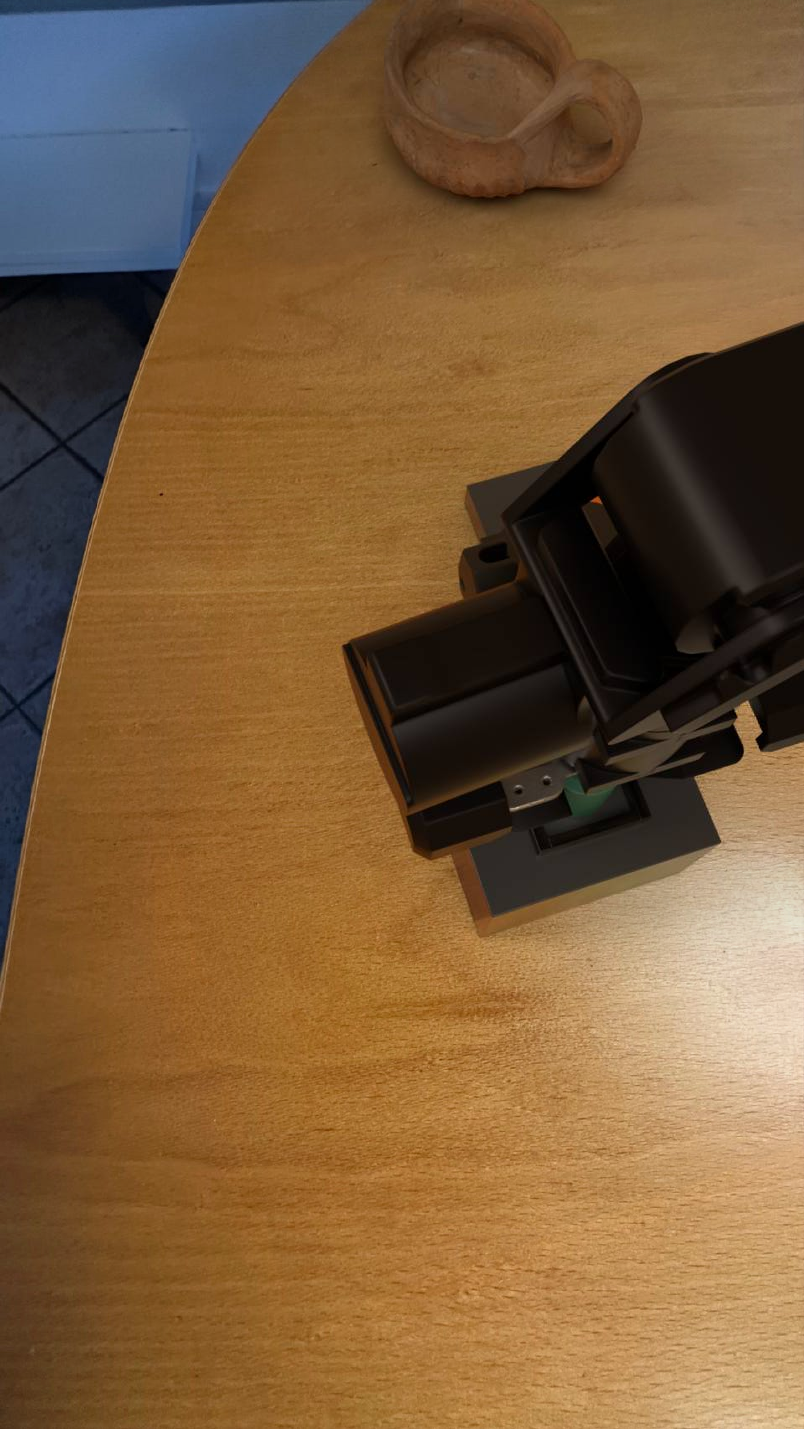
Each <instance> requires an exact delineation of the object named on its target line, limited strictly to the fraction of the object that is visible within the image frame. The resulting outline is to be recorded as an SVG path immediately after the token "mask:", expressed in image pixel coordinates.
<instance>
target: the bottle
mask: <svg viewBox="0 0 804 1429" xmlns="http://www.w3.org/2000/svg"><path fill="white" fill-rule="evenodd" d="M559 759H560V760H561V757H560V758H559ZM616 786H617V785H616ZM616 786H613V787H610V788H607V789H603V790H600V791H597V792H594V793H591V794H588V795H585V793H584V791H583V788H582V786H581V783H580V780H579V778H578V775H574V776H571V777H568V778H566V779H565V781H564V788H563V790H564V792H565V795H566V797H567V800H568V803H569V805H570V808H571V811H572V813H573V815H572V816H571V817H567V818H582V817H586V816H588V815H591V814H592V813H594V812H596V811H597V810H598V809H599V808H600V807H601V806H602V804H603V803H604V802H605V800H606V799H607V798H608V796H609V795H610V794H611V792H612V791H613V790H614V788H615V787H616Z"/></svg>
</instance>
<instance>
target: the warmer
mask: <svg viewBox="0 0 804 1429" xmlns="http://www.w3.org/2000/svg"><path fill="white" fill-rule="evenodd" d="M721 844H722V839H721V837H720V834H719V832H718V830H717V828H716V825H715V822H714V821H713V818H712V816H711V814H710V811H709V809H708V806H707V804H706V802H705V799H704V797H703V794H702V792H701V790H700V787H699V785H698V782H697V781H696V778H695V777H693V778H690V779H686V780H678V779H663V778H643V777H641V778H638V779H635V780H632V781H629V782H625V783H622V784H619V785H617V786H616V787H615V788H614V790H613V791H612V792H611V794H610V795H609V796H608V798H607V799H606V800H605V802H604V803H603V804H602V806H601V807H600V808H599V809H598V810H597V811H596V812H594V813H592V814H591V815H588V816H586V817H582V818H564V819H561V820H558V821H555V822H552V823H549V824H545V825H542V826H539V827H536V828H533V829H530V830H527V831H524V832H520V833H513V832H509V833H507V834H505V835H503V836H501V837H499V838H497V839H495V840H493V841H491V842H488V843H485V844H482V845H479V846H476V847H473V848H470V849H466V850H463V851H460V852H457V853H454V854H451V855H450V856H451V858H452V861H453V864H454V867H455V871H456V872H457V875H458V879H459V882H460V885H461V888H462V891H463V894H464V897H465V900H466V903H467V905H468V909H469V911H470V915H471V918H472V920H473V923H474V926H475V929H476V933H477V935H478V937H479V939H484V938H486V937H490V936H492V935H496V934H499V933H502V932H504V931H507V930H510V929H513V928H516V927H520V926H522V925H526V924H529V923H532V922H534V921H535V922H536V921H538V920H542V919H544V918H547V917H550V916H553V915H556V914H559V913H562V912H565V911H568V910H571V909H574V908H578V907H581V906H584V905H587V904H590V903H594V902H596V901H599V900H602V899H605V898H608V897H611V896H614V895H617V894H621V893H624V892H627V891H630V890H632V889H636V888H638V887H642V886H645V885H649V884H651V883H654V882H657V881H660V880H663V879H666V878H669V877H672V876H675V875H679V874H681V873H682V872H684V871H685V870H686V869H688V868H689V867H691V866H692V865H694V864H695V863H696V862H698V861H699V860H700V859H702V858H703V857H704V856H705V855H707V854H709V853H710V852H712V850H714V849H715V848H717V847H718V846H719V845H721Z"/></svg>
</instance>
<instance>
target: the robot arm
mask: <svg viewBox="0 0 804 1429" xmlns="http://www.w3.org/2000/svg"><path fill="white" fill-rule="evenodd" d="M556 460H557V461H556ZM556 460H555V461H556V462H555V463H554V464H553V465H552V466H551V467H550V468H549V469H547V470H546V471H545V472H544V473H543V474H542V475H541V476H540V477H539V478H538V479H537V480H536V481H535V482H534V483H533V484H532V485H531V486H530V487H529V488H528V489H526V490H525V491H524V492H523V493H522V494H521V495H520V496H519V497H518V498H517V499H516V500H515V501H514V502H513V503H512V504H511V505H510V506H509V507H508V508H506V509H505V510H504V511H503V512H502V514H501V516H500V518H501V520H502V522H503V524H504V528H503V529H502V530H501V532H500V533H497V534H493V535H490V536H487V537H483V538H481V539H480V543H479V544H476V545H471V546H468V547H466V548H463V549H462V550H461V554H460V558H459V562H458V566H457V567H458V568H457V571H458V582H459V588H460V592H461V596H462V599H460V600H457V601H454V602H452V603H449V604H446V605H443V606H439V607H437V608H435V609H432V610H429V611H426V612H424V613H421V614H418V615H415V616H413V617H410V618H408V619H404V620H401V621H398V622H396V623H393V624H390V625H387V626H384V627H382V628H379V629H376V630H373V631H370V632H367V633H365V634H362V635H359V636H356V637H353V638H350V639H349V640H348V641H347V642H346V643H344V644H341V652H342V656H343V661H344V665H345V668H346V673H347V676H348V679H349V680H348V681H349V683H350V686H351V687H350V688H351V690H352V693H353V696H354V699H355V702H356V705H357V709H358V712H359V714H360V717H361V721H362V723H363V725H364V728H365V731H366V733H367V736H368V739H369V742H370V745H371V748H372V750H373V752H374V755H375V757H376V759H377V762H378V764H379V767H380V770H381V771H382V774H383V776H384V779H385V781H386V783H387V785H388V787H389V789H390V791H391V794H392V796H393V798H394V800H395V802H396V805H397V807H398V811H399V813H400V817H401V819H402V823H403V826H404V829H405V832H406V835H407V838H408V841H409V844H410V847H411V850H412V853H414V854H415V855H418V856H420V857H422V858H424V859H426V860H427V861H429V862H431V861H432V862H433V861H436V860H439V859H442V858H445V857H448V856H451V854H454V853H457V852H460V851H463V850H466V849H470V848H473V847H476V846H479V845H482V844H485V843H488V842H491V841H493V840H495V839H497V838H499V837H501V836H503V835H505V834H507V833H509V832H513V833H520V832H524V831H527V830H530V829H533V828H536V827H539V826H542V825H545V824H549V823H552V822H555V821H558V820H561V819H564V818H567V817H571V816H572V815H573V813H572V811H571V808H570V805H569V803H568V800H567V797H566V795H565V792H564V790H563V788H564V781H565V779H566V778H568V777H571V776H574V775H578V778H579V780H580V783H581V786H582V788H583V791H584V793H585V795H588V794H591V793H594V792H597V791H600V790H603V789H607V788H610V787H613V786H616V785H619V784H622V783H625V782H629V781H632V780H635V779H638V778H641V777H643V778H663V779H678V780H686V779H690V778H693V777H694V778H695V777H699V776H702V775H704V774H708V773H711V772H715V771H717V770H722V769H723V768H726V767H731V766H733V765H736V764H738V763H739V762H740V761H741V760H742V759H743V757H744V754H745V747H744V744H743V742H742V740H741V737H740V735H739V733H738V730H737V728H736V726H735V723H736V721H737V719H739V716H738V715H737V714H738V713H737V712H736V710H738V709H739V708H740V706H741V705H743V704H744V703H746V702H748V704H749V706H750V708H751V710H752V713H753V716H754V717H755V720H756V722H757V724H758V726H759V729H760V730H761V733H759V734H758V735H757V737H756V738H754V740H755V743H756V745H757V748H758V750H759V751H760V753H773V752H776V751H780V750H783V749H786V748H789V747H792V746H795V745H799V744H802V743H804V320H803V321H800V322H797V323H794V324H791V325H789V326H786V327H783V328H781V329H778V330H775V331H772V332H769V333H766V334H764V335H761V336H757V337H755V338H752V339H749V340H746V341H743V342H741V343H739V344H738V343H737V344H735V345H733V346H729V347H727V348H724V349H721V350H719V351H715V352H710V351H709V352H707V351H703V352H700V353H695V354H691V355H686V356H684V357H681V358H679V359H676V360H675V361H672V362H669V363H668V364H665V365H664V366H663V367H661V368H659V369H658V370H656V371H654V372H652V373H650V374H649V375H647V376H646V377H645V378H644V379H642V380H641V381H640V382H638V384H636V385H635V386H634V387H633V388H632V389H630V390H629V391H628V392H627V393H626V394H625V395H624V396H623V397H622V398H621V399H620V400H619V401H618V402H617V403H616V404H615V405H613V406H612V408H610V409H609V410H608V411H607V412H606V413H605V414H604V415H603V416H602V417H601V418H600V419H599V420H598V421H596V423H594V424H593V426H591V427H590V428H589V429H588V430H587V431H586V432H585V433H584V434H583V435H582V436H581V437H580V438H579V439H578V440H576V442H575V443H573V445H572V446H570V447H569V448H568V449H567V450H566V451H565V452H564V453H563V454H562V455H561V456H560V457H559V458H557V459H556ZM598 496H599V498H600V500H601V502H602V504H600V503H597V502H590V501H592V500H593V499H595V498H596V497H598ZM560 757H561V760H560V759H559V758H560Z"/></svg>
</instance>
